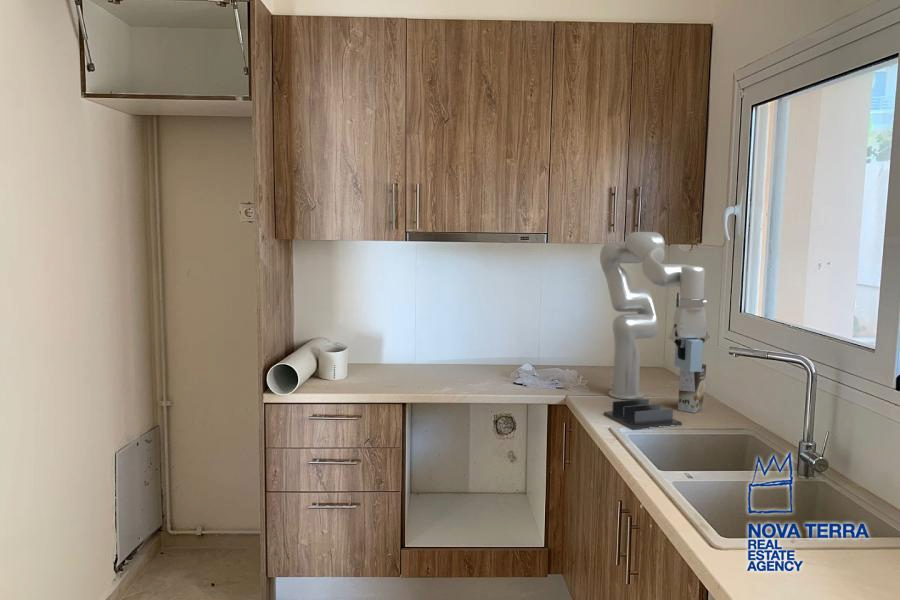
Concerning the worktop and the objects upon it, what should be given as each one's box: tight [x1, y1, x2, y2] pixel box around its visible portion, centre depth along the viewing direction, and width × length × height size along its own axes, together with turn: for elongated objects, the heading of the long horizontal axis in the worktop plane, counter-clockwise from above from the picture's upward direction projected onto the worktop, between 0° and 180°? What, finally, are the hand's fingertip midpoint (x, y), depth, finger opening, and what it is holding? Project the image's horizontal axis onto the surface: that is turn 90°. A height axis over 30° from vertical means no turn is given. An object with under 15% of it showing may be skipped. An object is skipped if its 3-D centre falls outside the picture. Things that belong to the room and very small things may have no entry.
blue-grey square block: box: [674, 337, 704, 372], centre depth 209 cm, size 10×4×10 cm, turn 9°
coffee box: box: [677, 363, 707, 414], centre depth 225 cm, size 9×6×16 cm
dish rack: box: [603, 398, 683, 431], centre depth 211 cm, size 18×18×5 cm
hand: (688, 358), depth 209 cm, fingers closed on blue-grey square block, 4 cm apart
